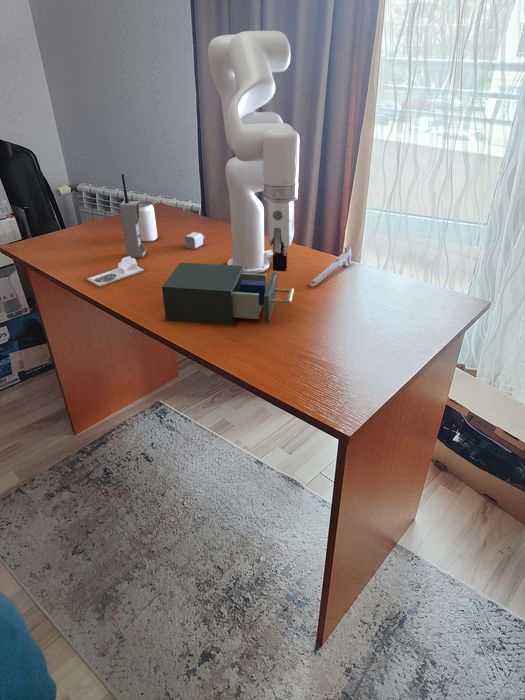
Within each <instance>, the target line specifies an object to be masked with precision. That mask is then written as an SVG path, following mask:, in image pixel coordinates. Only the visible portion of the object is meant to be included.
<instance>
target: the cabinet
mask: <svg viewBox="0 0 525 700" xmlns="http://www.w3.org/2000/svg"><path fill="white" fill-rule="evenodd" d="M241 273H244V270H243V266H232V265H227V264H213V263H198V262H197V263H196V262H179V263H178V265H177V266H176V267H175V268H174V270H173V271H172V273H171V274H170V275H169V277H168V278H167V279H166V280H165V281H164V283H163V284H162V286H161V292H162V293H161V294H162V299H163V308H164V316H165V320H166V321H173V322H174V321H175V322H189V323H200V324H201V323H202V324H203V323H204V324H213V325H214V324H215V325H226V326H227V325H229V326H233V325H234V323H235V320H236V318H235V317H233V300H232V292H233V290H234V288H235V286H236V284H237V282H238V280H239V278H240V275H241Z"/></svg>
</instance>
